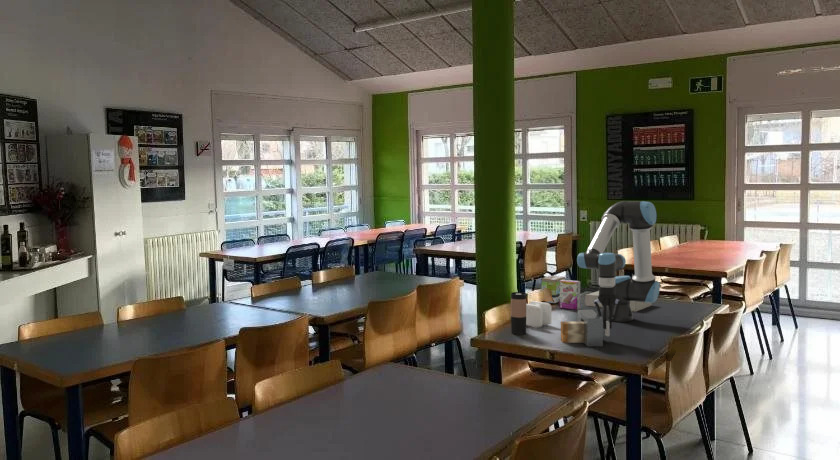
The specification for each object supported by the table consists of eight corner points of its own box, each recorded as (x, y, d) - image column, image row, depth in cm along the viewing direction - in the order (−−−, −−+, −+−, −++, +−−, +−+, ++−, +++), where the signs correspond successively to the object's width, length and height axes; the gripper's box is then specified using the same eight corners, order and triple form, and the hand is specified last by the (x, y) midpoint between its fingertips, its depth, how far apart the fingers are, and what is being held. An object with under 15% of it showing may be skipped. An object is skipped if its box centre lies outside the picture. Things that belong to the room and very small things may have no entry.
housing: (592, 336, 336) (592, 309, 335) (602, 346, 316) (603, 318, 315) (577, 336, 336) (577, 309, 335) (587, 346, 316) (587, 318, 315)
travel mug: (509, 331, 348) (509, 292, 346) (524, 331, 348) (524, 291, 346) (512, 335, 340) (512, 294, 338) (528, 334, 341) (528, 294, 339)
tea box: (556, 303, 420) (556, 279, 418) (540, 302, 425) (540, 278, 424) (565, 299, 432) (565, 276, 431) (549, 298, 438) (549, 275, 436)
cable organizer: (553, 326, 359) (553, 304, 358) (539, 329, 352) (539, 306, 351) (531, 321, 370) (531, 300, 369) (517, 324, 363) (517, 302, 362)
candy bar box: (558, 308, 405) (559, 280, 403) (562, 307, 409) (562, 279, 407) (577, 310, 399) (577, 282, 397) (580, 308, 403) (580, 280, 401)
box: (652, 306, 410) (601, 300, 430) (652, 293, 409) (601, 287, 429) (636, 313, 392) (584, 306, 412) (636, 300, 391) (584, 293, 412)
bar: (599, 339, 328) (599, 321, 327) (601, 342, 324) (601, 323, 323) (560, 340, 328) (560, 321, 328) (562, 342, 324) (562, 323, 323)
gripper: (595, 287, 320) (595, 337, 322) (623, 287, 320) (623, 337, 322) (591, 285, 327) (591, 334, 330) (618, 284, 327) (618, 333, 330)
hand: (607, 335), depth 326 cm, fingers closed
